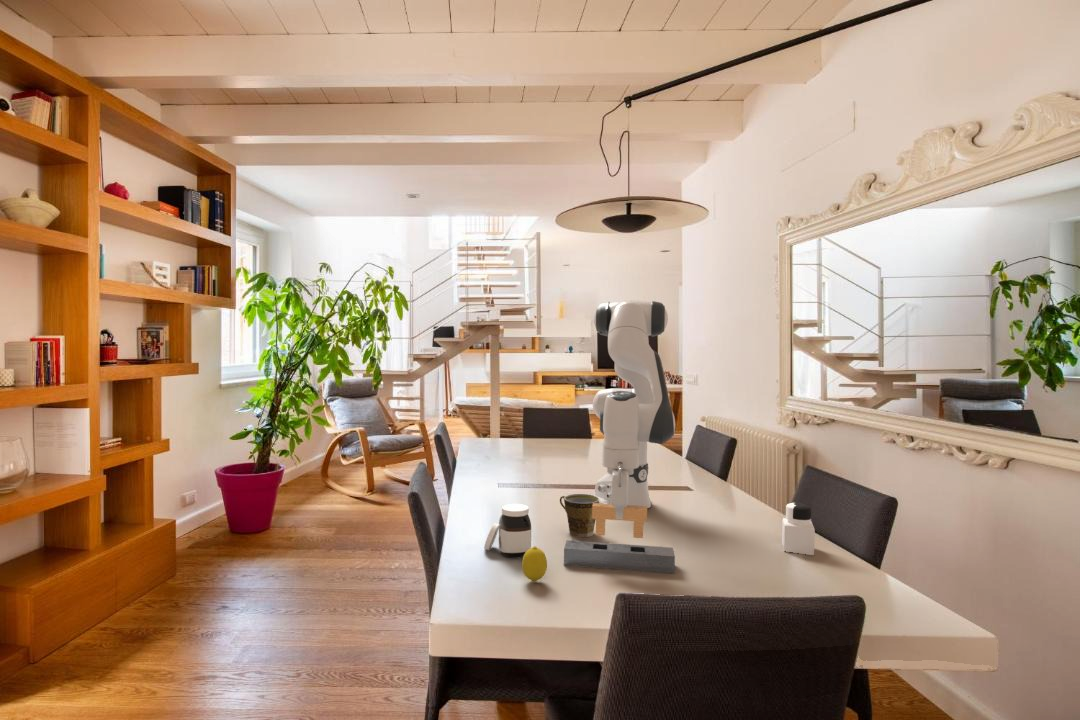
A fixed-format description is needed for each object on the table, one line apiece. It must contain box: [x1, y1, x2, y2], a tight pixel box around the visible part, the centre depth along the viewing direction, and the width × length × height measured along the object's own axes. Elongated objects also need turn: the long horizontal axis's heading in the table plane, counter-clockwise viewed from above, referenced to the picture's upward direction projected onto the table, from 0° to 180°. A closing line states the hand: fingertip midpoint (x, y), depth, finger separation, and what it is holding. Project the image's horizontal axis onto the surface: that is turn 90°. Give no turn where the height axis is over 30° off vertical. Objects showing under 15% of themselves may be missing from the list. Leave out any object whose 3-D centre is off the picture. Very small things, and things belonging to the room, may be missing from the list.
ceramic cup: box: [559, 493, 599, 538], centre depth 160 cm, size 13×10×10 cm
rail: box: [563, 540, 676, 574], centre depth 137 cm, size 26×6×4 cm, turn 81°
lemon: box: [521, 546, 548, 583], centre depth 125 cm, size 6×6×8 cm
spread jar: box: [483, 503, 532, 559], centre depth 144 cm, size 12×11×12 cm
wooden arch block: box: [592, 503, 648, 539], centre depth 136 cm, size 13×3×7 cm, turn 81°
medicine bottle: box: [781, 502, 816, 556], centre depth 149 cm, size 7×7×12 cm
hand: (619, 516), depth 136 cm, fingers closed on wooden arch block, 3 cm apart
